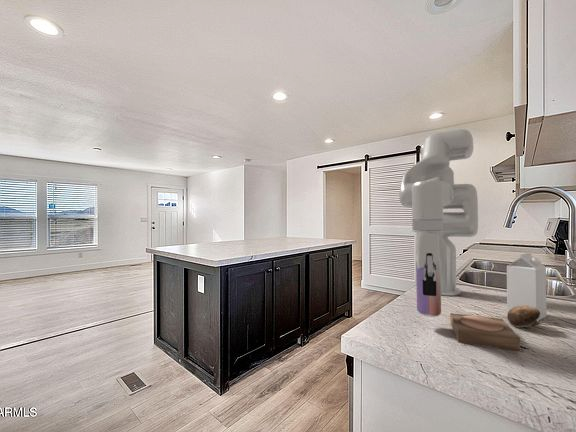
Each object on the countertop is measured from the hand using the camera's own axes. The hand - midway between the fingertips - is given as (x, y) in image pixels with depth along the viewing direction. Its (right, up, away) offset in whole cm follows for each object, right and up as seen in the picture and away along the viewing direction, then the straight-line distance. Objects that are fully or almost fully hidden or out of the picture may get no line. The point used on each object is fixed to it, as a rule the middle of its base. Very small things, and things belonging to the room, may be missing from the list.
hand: (428, 290), depth 74 cm
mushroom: (+26, -10, 0) cm, 28 cm away
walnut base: (+11, -10, -5) cm, 16 cm away
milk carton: (+34, -10, +8) cm, 36 cm away
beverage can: (0, -6, 0) cm, 6 cm away
